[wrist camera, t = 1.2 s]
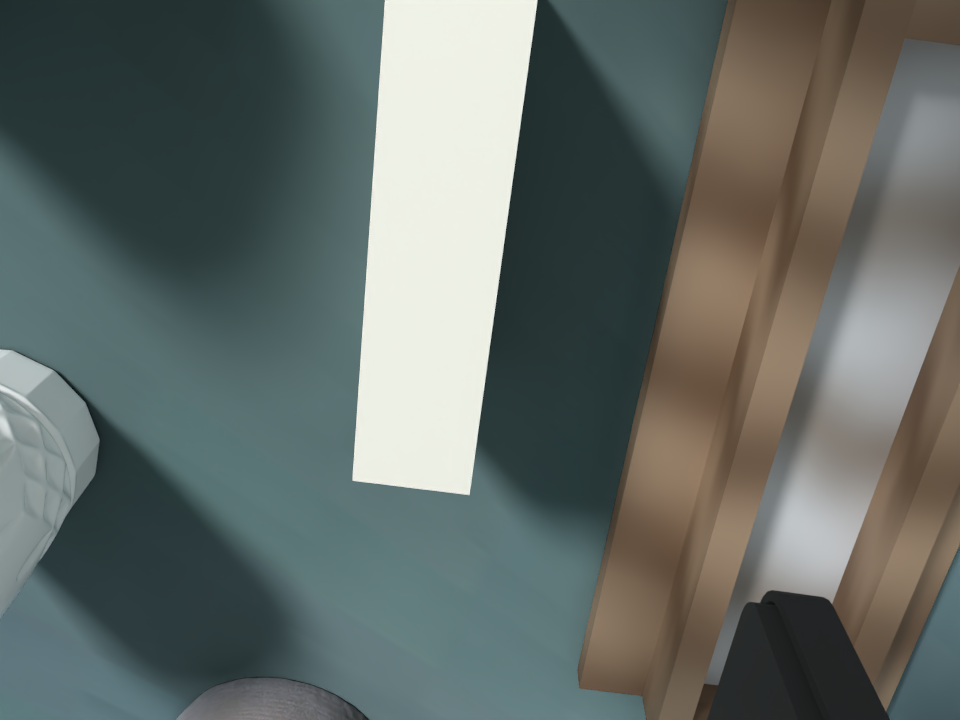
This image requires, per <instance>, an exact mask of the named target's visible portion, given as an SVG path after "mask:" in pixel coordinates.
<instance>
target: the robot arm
mask: <svg viewBox="0 0 960 720" xmlns="http://www.w3.org/2000/svg"><path fill="white" fill-rule="evenodd" d="M707 720H890V719H889V717H888V715H887V713H886V711H885V709H884V707H883V705H882V703H881V701H880V699H879V697H878V695H877V693H876V691H875V689H874V687H873V685H872V683H871V681H870V679H869V677H868V675H867V673H866V671H865V669H864V667H863V665H862V663H861V661H860V659H859V657H858V655H857V653H856V651H855V649H854V647H853V645H852V643H851V641H850V639H849V637H848V635H847V633H846V631H845V628H844V626H843V624H842V622H841V620H840V618H839V616H838V614H837V612H836V610H835V608H834V607H833V605H832V604H831V602H830V601H829V600H828V599H826V598H824V597H819V596H812V595H805V594H797V593H790V592H783V591H775V590H771V591H767V592H766V593H765V595H764V596H763V597H762V600H761V602H760V603H756V602H748V603H747V604H746V605H745V606H744V608H743V610H742V613H741V616H740V619H739V622H738V625H737V628H736V631H735V634H734V637H733V641H732V644H731V647H730V650H729V653H728V656H727V659H726V662H725V665H724V669H723V672H722V675H721V678H720V681H719V684H718V687H717V690H716V694H715V697H714V700H713V703H712V706H711V709H710V712H709V715H708V718H707Z"/></svg>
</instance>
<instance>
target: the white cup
mask: <svg viewBox="0 0 960 720" xmlns="http://www.w3.org/2000/svg"><path fill="white" fill-rule="evenodd" d="M99 443H100V439H99V436H98V433H97V431H96V428H95V426H94V423H93V420H92V418H91V415H90V413H89V410H88V408H87V405H86V403H85V402H84V401H83V400H82V398H81V397H80V396H79V395H78V394H77V393H76V392H75V391H74V390H73V389H72V388H71V387H70V386H69V385H68V384H67V383H66V382H65V381H64V380H63V379H62V378H61V377H60V376H59V375H58V374H57V373H56V372H55V371H54V370H52V369H50V368H48V367H46V366H44V365H42V364H40V363H38V362H36V361H33V360H31V359H29V358H27V357H25V356H23V355H21V354H19V353H17V352H15V351H12V350H1V349H0V619H1V618H2V616H3V615H4V613H5V612H6V610H7V609H8V608H9V606H10V605H11V603H12V602H13V601H14V599H15V598H16V596H17V595H18V594H19V592H20V591H21V589H22V588H23V586H24V585H25V583H26V582H27V580H28V578H29V577H30V575H31V573H32V572H33V570H34V569H35V567H36V565H37V564H38V563H39V561H40V560H41V558H42V557H43V555H44V554H45V553H46V551H47V550H48V548H49V546H50V545H51V543H52V542H53V540H54V538H55V537H56V535H57V534H58V531H59V529H60V527H61V525H62V523H63V521H64V518H65V517H66V515H67V514H68V513H69V511H70V509H71V508H72V506H73V505H74V504H75V502H76V501H77V500H78V498H79V497H80V495H81V494H82V493H83V491H84V490H85V489H86V487H87V486H88V484H89V483H90V482H91V480H92V479H93V477H94V476H95V473H96V466H97V458H98V450H99Z"/></svg>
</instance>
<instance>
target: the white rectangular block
mask: <svg viewBox="0 0 960 720" xmlns="http://www.w3.org/2000/svg"><path fill="white" fill-rule="evenodd" d="M537 1H538V0H385V9H384V24H383V38H382V53H381V68H380V82H379V97H378V112H377V127H376V141H375V156H374V171H373V185H372V200H371V215H370V230H369V244H368V259H367V274H366V288H365V303H364V318H363V333H362V347H361V362H360V377H359V392H358V406H357V421H356V436H355V450H354V465H353V480H352V481H360V482H368V483H376V484H384V485H392V486H401V487H409V488H417V489H425V490H433V491H442V492H450V493H458V494H466V495H470V487H471V480H472V473H473V466H474V458H475V451H476V444H477V436H478V429H479V422H480V415H481V407H482V400H483V393H484V386H485V378H486V371H487V364H488V357H489V349H490V342H491V335H492V328H493V320H494V313H495V306H496V298H497V291H498V284H499V277H500V269H501V262H502V255H503V248H504V240H505V233H506V226H507V219H508V211H509V204H510V197H511V190H512V182H513V175H514V168H515V161H516V153H517V146H518V139H519V131H520V124H521V117H522V110H523V102H524V95H525V88H526V81H527V73H528V66H529V59H530V52H531V44H532V37H533V30H534V23H535V15H536V8H537Z"/></svg>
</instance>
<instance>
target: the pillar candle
mask: <svg viewBox="0 0 960 720" xmlns="http://www.w3.org/2000/svg"><path fill="white" fill-rule="evenodd" d="M177 720H368V719H367V718H365V716H364V715H363V714H362V713H360V712H359V711H358V710H356V708H355V707H353V706H352V705H350V704H348V703H347V702H345V701H344V700H342V699H341V698H340V697H338V696H336V695H334V694H332V693H330V692H328V691H325V690H323V689H321V688H318V687H315V686H313V685H309V684H306V683H302V682H298V681H293V680H289V679H285V678H265V677H261V678H245V679H238V680H234V681H231V682H227V683H222V684H219V685H216V686H214V687H212V688H210V689H208V690H207V691H205V692H204V693H203V694H202V695H200V696H199V697H198V698H197V699H196V700H194V701H193V702H192V703H191V704H190V705H189V706H188V707H187V708H186V709H185V710H184V711H183V712H182V713H181V714H180V715H179V717H178V718H177Z"/></svg>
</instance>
